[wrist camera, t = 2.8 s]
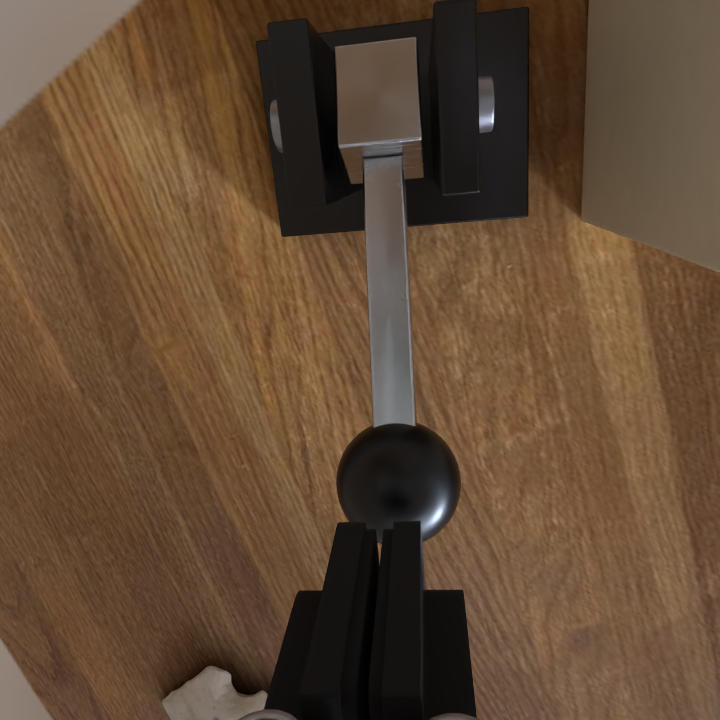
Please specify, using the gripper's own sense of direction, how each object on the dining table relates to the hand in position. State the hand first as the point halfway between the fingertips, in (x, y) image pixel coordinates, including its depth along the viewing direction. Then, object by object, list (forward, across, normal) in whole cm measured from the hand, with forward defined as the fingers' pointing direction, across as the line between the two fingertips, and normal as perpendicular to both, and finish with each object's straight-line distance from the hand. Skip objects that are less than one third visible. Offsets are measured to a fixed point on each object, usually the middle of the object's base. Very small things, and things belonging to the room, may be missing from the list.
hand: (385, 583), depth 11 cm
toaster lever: (+7, 0, -4) cm, 8 cm away
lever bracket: (+18, 0, -9) cm, 20 cm away
